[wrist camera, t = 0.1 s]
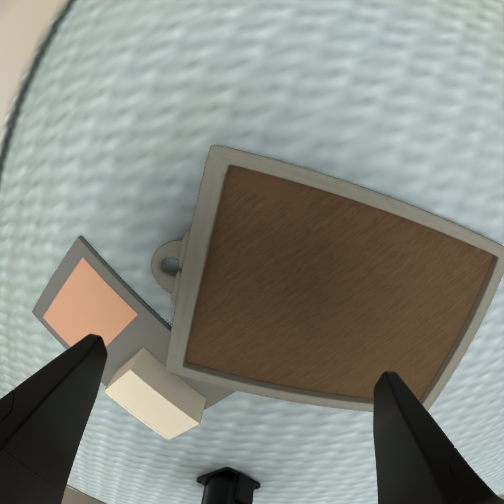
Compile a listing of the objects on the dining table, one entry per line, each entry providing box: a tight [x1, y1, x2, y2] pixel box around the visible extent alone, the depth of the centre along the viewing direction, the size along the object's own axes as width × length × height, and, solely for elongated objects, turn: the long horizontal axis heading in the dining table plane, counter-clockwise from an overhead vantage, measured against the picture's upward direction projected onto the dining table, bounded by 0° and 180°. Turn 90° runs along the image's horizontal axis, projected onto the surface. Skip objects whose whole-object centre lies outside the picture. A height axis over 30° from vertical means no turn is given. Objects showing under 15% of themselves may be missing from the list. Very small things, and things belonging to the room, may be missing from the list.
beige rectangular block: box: [104, 347, 206, 440], centre depth 26 cm, size 5×8×4 cm, turn 43°
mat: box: [32, 236, 236, 410], centre depth 27 cm, size 12×20×1 cm, turn 43°
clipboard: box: [151, 145, 504, 412], centre depth 24 cm, size 19×2×30 cm
